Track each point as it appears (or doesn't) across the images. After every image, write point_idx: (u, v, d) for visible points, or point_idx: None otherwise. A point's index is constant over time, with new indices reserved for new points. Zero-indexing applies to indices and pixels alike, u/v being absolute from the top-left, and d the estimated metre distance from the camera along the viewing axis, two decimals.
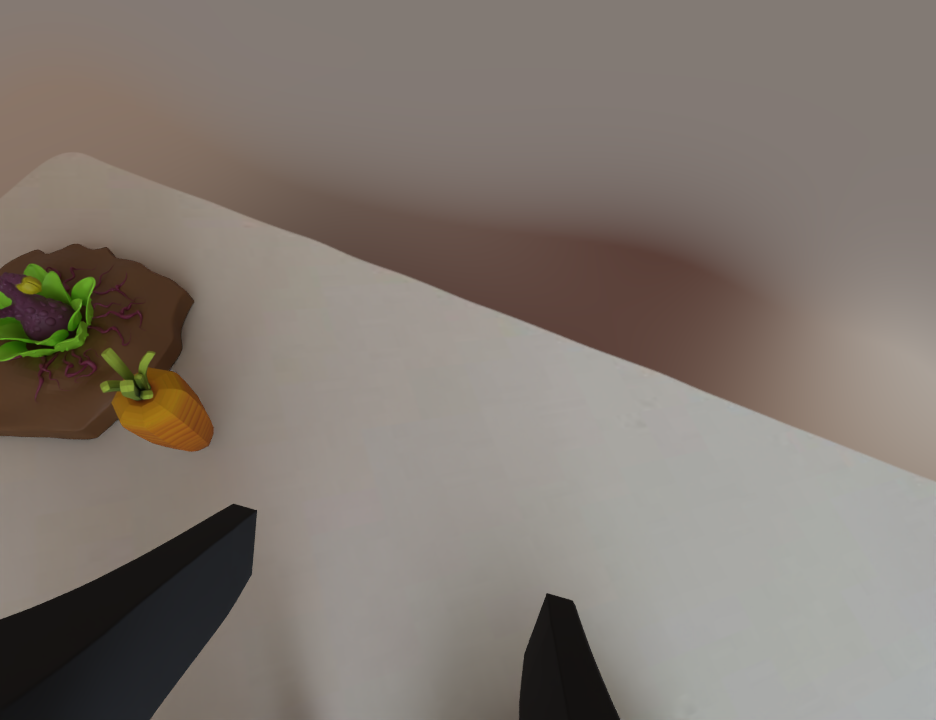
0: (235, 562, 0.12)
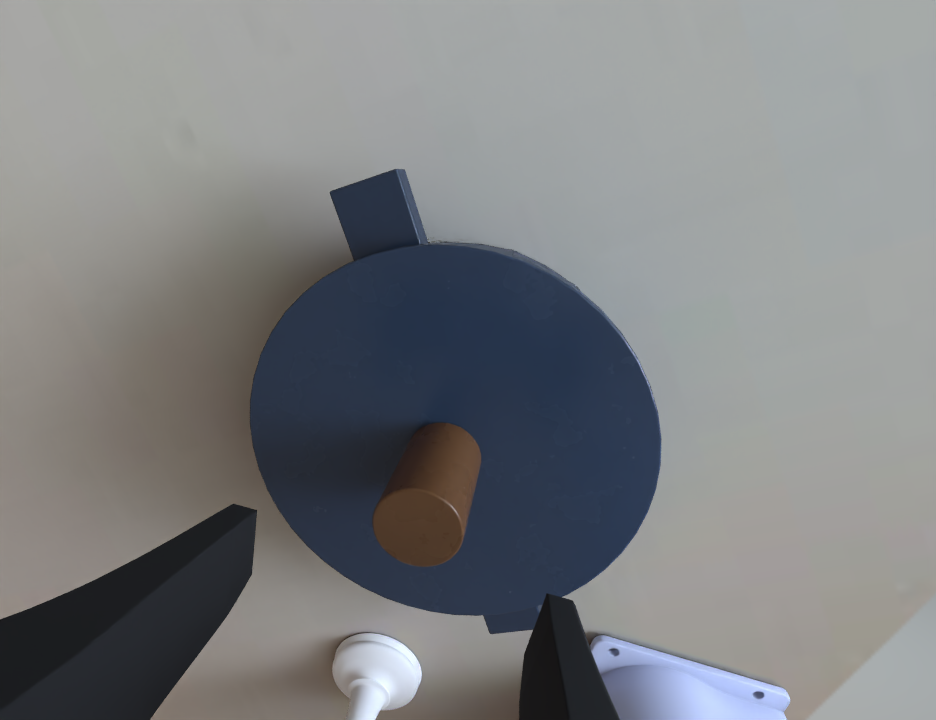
0: (235, 562, 0.12)
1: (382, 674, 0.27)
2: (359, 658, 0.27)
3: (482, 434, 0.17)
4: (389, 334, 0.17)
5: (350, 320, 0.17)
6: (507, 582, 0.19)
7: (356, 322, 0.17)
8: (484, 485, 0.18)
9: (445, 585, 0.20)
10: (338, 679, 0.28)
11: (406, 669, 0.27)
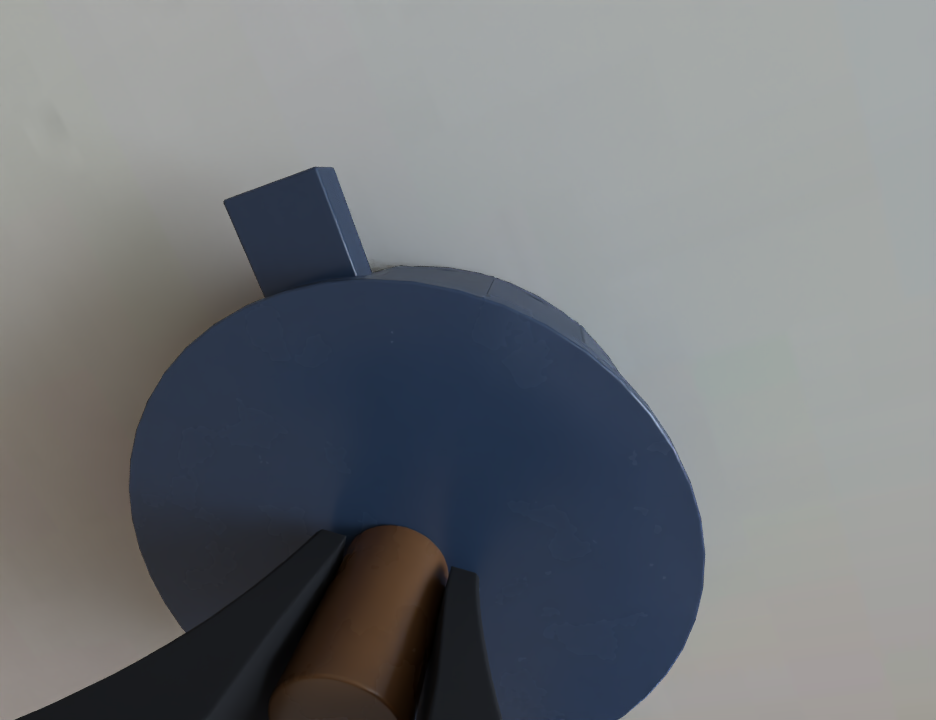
0: None
1: None
2: None
3: (449, 541, 0.12)
4: (311, 405, 0.11)
5: (254, 385, 0.11)
6: None
7: (263, 388, 0.11)
8: None
9: None
10: None
11: None
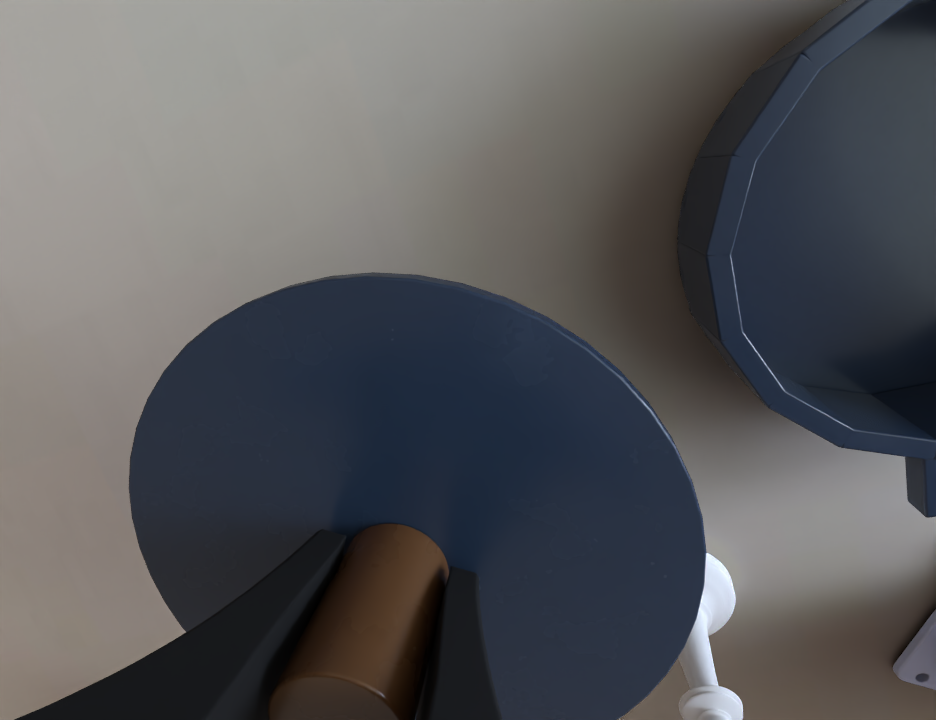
0: None
1: None
2: None
3: (449, 540, 0.12)
4: (311, 403, 0.11)
5: (254, 383, 0.11)
6: None
7: (264, 386, 0.11)
8: None
9: None
10: None
11: (728, 587, 0.22)
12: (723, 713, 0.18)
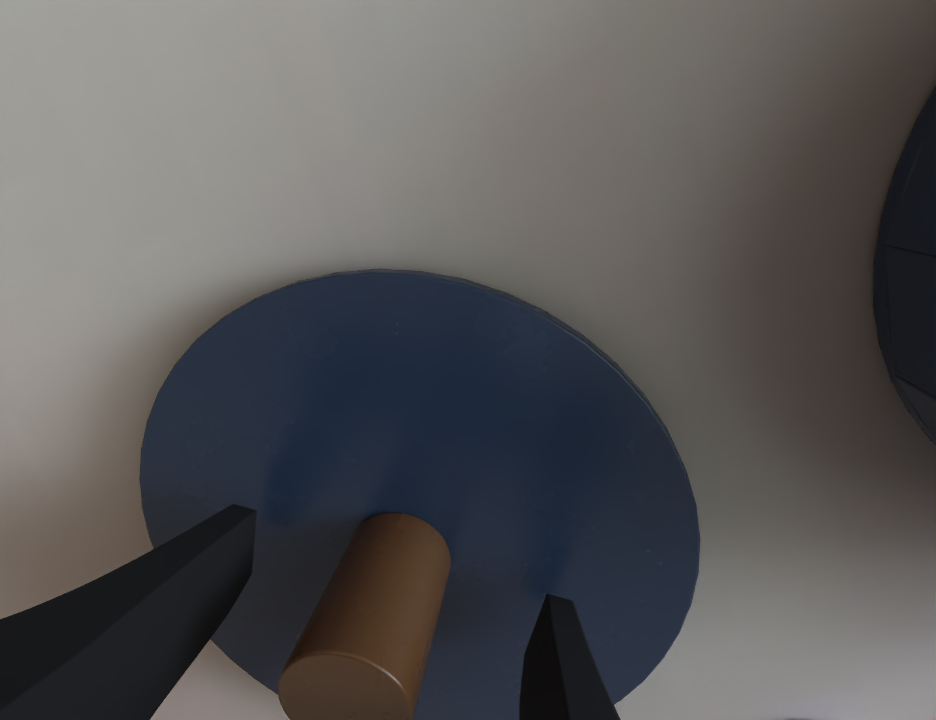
0: (235, 562, 0.12)
1: None
2: None
3: (451, 528, 0.13)
4: (318, 396, 0.12)
5: (262, 376, 0.12)
6: (490, 711, 0.15)
7: (272, 379, 0.12)
8: (456, 592, 0.13)
9: None
10: None
11: None
12: None
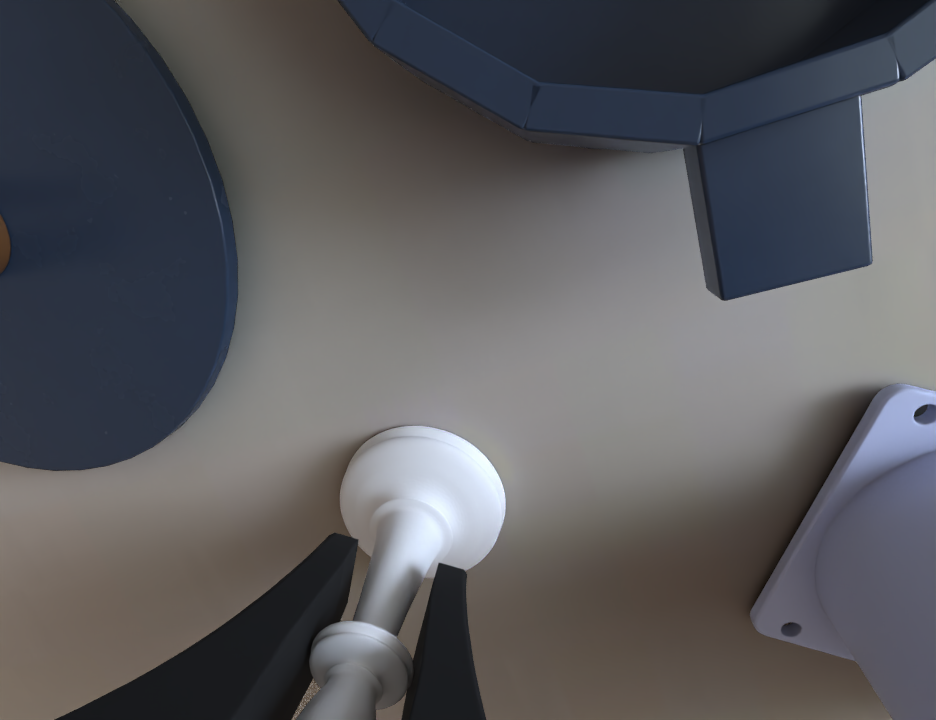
0: (340, 593, 0.11)
1: (437, 494, 0.14)
2: (392, 466, 0.14)
3: None
4: None
5: None
6: (98, 418, 0.15)
7: None
8: (26, 273, 0.13)
9: (31, 428, 0.15)
10: (351, 517, 0.15)
11: (483, 487, 0.14)
12: (359, 669, 0.10)
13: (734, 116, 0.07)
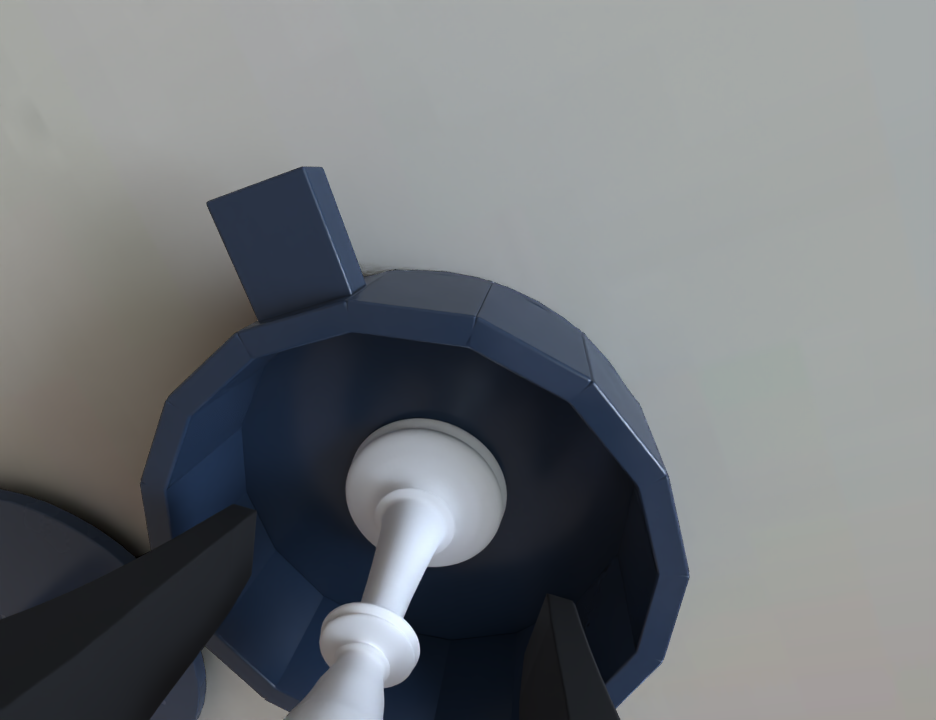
0: (235, 562, 0.12)
1: (440, 484, 0.14)
2: (397, 457, 0.14)
3: None
4: None
5: None
6: None
7: None
8: None
9: None
10: (356, 507, 0.15)
11: (485, 477, 0.14)
12: (368, 648, 0.10)
13: None
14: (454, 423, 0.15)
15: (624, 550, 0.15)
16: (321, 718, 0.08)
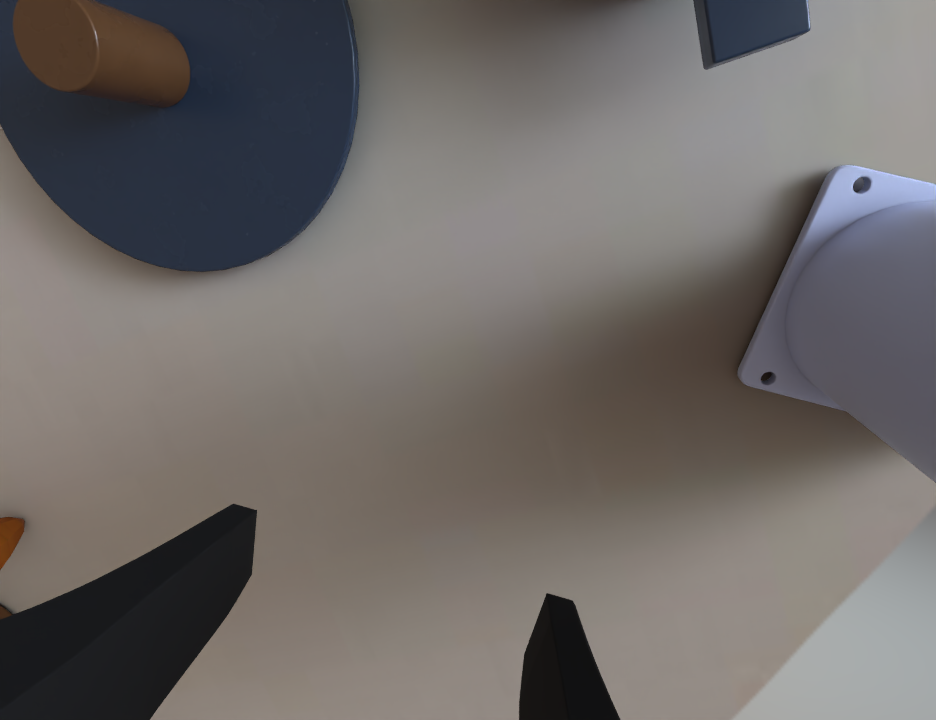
0: (235, 562, 0.12)
1: None
2: None
3: (186, 34, 0.17)
4: None
5: None
6: (242, 222, 0.19)
7: None
8: (199, 99, 0.18)
9: (187, 234, 0.20)
10: None
11: None
12: None
13: None
14: None
15: None
16: None
